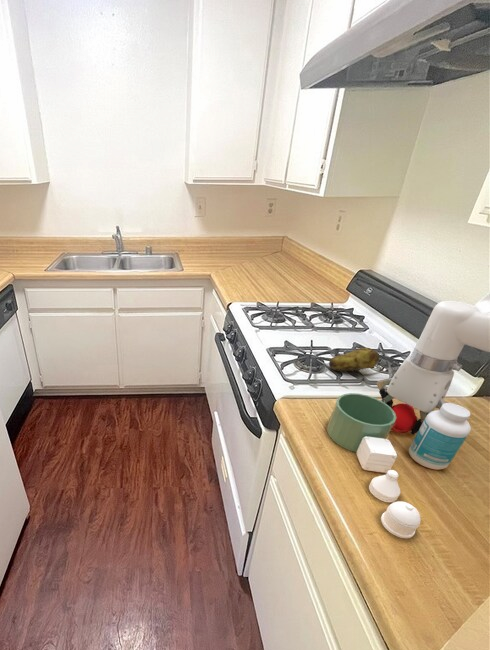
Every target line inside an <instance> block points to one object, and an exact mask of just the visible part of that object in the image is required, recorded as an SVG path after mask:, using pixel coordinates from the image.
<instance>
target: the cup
mask: <svg viewBox="0 0 490 650" xmlns="http://www.w3.org/2000/svg"><path fill="white" fill-rule="evenodd" d="M329 417H330V418H329V420H328V422H327V426H326V432H327V434H328V436H329V438H330V439H331V440H332V441H333V442H334V443H335V444H337V445H338V446H340V447H342V448H344V449H346V450H348V451H351V452H353V453H357V450H358V447H359V445H360V443H361V441H362V439H363V437H366V436H367V437H375V438H383V439H387V440H388V437H389V435H390V432H391V431H392V430H391V429H392V427H393V425H394V423H395V420H396V414H395V412H394V411H393V410H392V408H391V407H390V406H388V405H387V404H386V403H384V402H382V400H380V399H378V398H376V397H374V396H371V395H367V394H363V393H352V392H351V393H350V392H349V393H344V394H342V395H339V396H338V397H337V399H336V401H335V403H334V406H333V409H332V412H331V414H330V416H329Z"/></svg>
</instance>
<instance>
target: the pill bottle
mask: <svg viewBox="0 0 490 650" xmlns="http://www.w3.org/2000/svg"><path fill="white" fill-rule="evenodd" d="M470 416H471V412H470V411H469V409H467V408H466V407H464V406H462V405H459V404H457V403H453V402H445V403H444V404H443V405H442V406H441V408H440V410H439V409H436V410H435V409H434V410H433V411H432V412H430V413H429V414H428V415H427V416H426V418H425V420H424V422H423V423H422V425H421V427H420V429H419V431H418V432H417V433H416V434H415V435H414V438H413V439H412V442H411V444H410V446H409V448H408V454H409V456H410V457H411V459H412V460H413V461H414V462H416V463H417V464H419V465H421V466H423V467H425V468H428V469H431V470H437V471H438V470H439V471H440V470H444V469H446V468H448V466H449V465H450V463H451V462H452V460H453V459H454V457H455V456H456V454H457V453H458V451H459V450H460V448H461V447H462V445H463V444H464V442H465V441H466V440H467V437H468V436H469V435H470V434H471V430H472V428H471V425H470V423H469V421H468V420H469V419H470Z"/></svg>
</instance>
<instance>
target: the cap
mask: <svg viewBox="0 0 490 650" xmlns="http://www.w3.org/2000/svg"><path fill="white" fill-rule="evenodd" d="M391 408H392V410H393V411H394V412H395V414H396V420H395V423H394V425H393V427H392V429H391V431H392V432H393V433H397V434H407V433H410V432H411V431H412V429H413V427H414V425H415V423H416V422H417V421H418V420H419V419H418V417H417V415H416V412H415V408H414V407H412V406H410V405H408V404H406V403H404V402H402V403H397V404H393V405H392V406H391Z"/></svg>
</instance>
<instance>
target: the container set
mask: <svg viewBox="0 0 490 650" xmlns="http://www.w3.org/2000/svg"><path fill="white" fill-rule="evenodd" d="M356 457H357V459H358V461H359V465H360V466H361V469H363V470H364V471H369V472H377V473H384V474H383V475H379V476H375V477H373V478H372V479H371V481H370V483H369V485H368V490H369V492H370V493H371V495H373V497H375V498H376V499H377V500H379V501H382V502H385V503H391V504H389V505H388V506H387V508H386V510H385V511H384V512H383V513H382V514H381V517H380V521H381V524H382V526H383V527H384V528H385V530H386V531H388V532H389V533H390V534H391V535H393V536H395V537H398V538H401V539H411V538H413V537H414V535H415V534H416V530H417V529H418V527H420V525H421V519H422V518H421V514H420V512H419V511H418V509H417V508H416V507H415V506H414V505H412V504H410V503H409V502H406V501H402V500H401V501H399V500H398V498H399V497H400V495H401V488H400V486H399V483H398V478H399V476H400V475H399V473H398V472H397V471H396V470H394V469H392V467H393V465H394V463H395V462H396V460H397V458H398V454H397V451H396V450H395V448H394V446H393V445H392V443H391V441H390V440H389V439H388V438H387V439H383V438H375V437H367V436H366V437H363V439H362V441H361V443H360V445H359V447H358V450H357V452H356ZM397 500H398V501H397Z"/></svg>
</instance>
